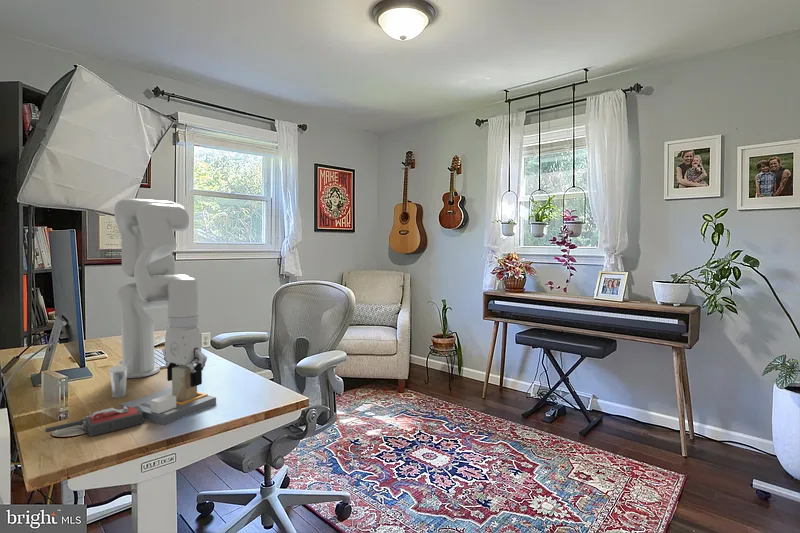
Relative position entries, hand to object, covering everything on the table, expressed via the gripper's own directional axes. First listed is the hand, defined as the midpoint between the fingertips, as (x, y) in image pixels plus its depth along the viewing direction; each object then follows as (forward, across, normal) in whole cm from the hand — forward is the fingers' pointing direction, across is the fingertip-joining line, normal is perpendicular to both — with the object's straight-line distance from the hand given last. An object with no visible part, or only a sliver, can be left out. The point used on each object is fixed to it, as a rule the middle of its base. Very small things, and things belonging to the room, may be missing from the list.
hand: (184, 382), depth 124 cm
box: (+7, 0, 0) cm, 7 cm away
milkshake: (+7, -23, -5) cm, 24 cm away
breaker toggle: (+4, +3, -9) cm, 10 cm away
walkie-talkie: (+6, -4, -20) cm, 22 cm away
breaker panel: (+6, -2, -4) cm, 7 cm away
